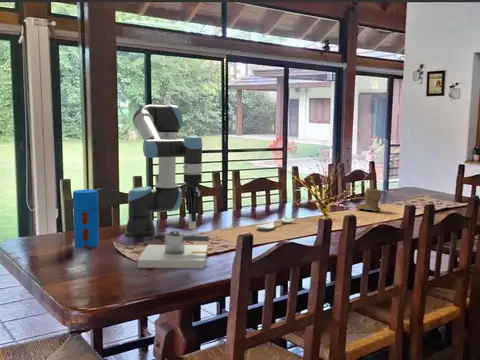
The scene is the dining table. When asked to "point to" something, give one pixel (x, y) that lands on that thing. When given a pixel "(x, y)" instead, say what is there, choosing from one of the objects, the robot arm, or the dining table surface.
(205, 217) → the dining table surface
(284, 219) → the spoon
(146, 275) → the dining table surface
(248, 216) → the dining table surface
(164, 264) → the stand
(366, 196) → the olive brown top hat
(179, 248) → the capstan
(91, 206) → the thermos
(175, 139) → the robot arm
